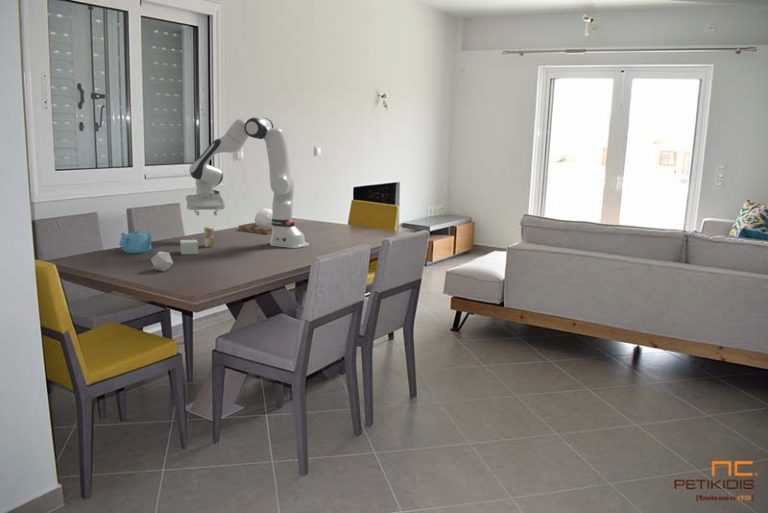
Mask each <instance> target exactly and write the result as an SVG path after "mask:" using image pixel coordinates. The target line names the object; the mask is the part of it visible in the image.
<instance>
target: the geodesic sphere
mask: <svg viewBox="0 0 768 513" xmlns="http://www.w3.org/2000/svg"><path fill="white" fill-rule="evenodd" d="M271 221H272V209H270V208H269V207H265V208H262V209H259V210H258V211H257V212H256V214H255V218H254V223H256V226H257V227H259V228H266V229H270V228H272V222H271Z"/></svg>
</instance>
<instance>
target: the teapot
mask: <svg viewBox="0 0 768 513" xmlns="http://www.w3.org/2000/svg"><path fill="white" fill-rule="evenodd" d="M120 235H121V236H120V240H119V246H120V247H121V249H122V251H123V252H125V254H132V253H135V254H136V253H137V254H145V252H146V253H148V252H150V251H151V249H152V244H151V243H152V242H151V241H152V237H153V232H148V233H147V235H146V233H144V232H140V231H139V230H137V229H136V230H135V229H134V230H133V232H130V233H128V234H127V233H126V232H121V233H120ZM135 254H134V255H135Z"/></svg>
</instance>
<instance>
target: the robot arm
mask: <svg viewBox="0 0 768 513" xmlns="http://www.w3.org/2000/svg"><path fill="white" fill-rule="evenodd" d="M249 137H250V138H253V139H257V140H264V142H265V147H266V152H267V159H268V165H269V166H268V168H269V169H268V170H269V181H270V182H269V183H270V184H269V185H270V190H271V191H272V192H273V197H272V198H273V199H272V205H271V206H272V209H271V210H272V221H271V222H272V233H271V234H270V240H269V244H270V246H271V247H282V248H289V249H290V248H291V249H299V248H304V247H305V248H306V247H308V246H309V245H310V243H309V242H306V241H305V240H306V239H305V235H304V233H303V232H302V231H301V230H300V229H299V228H298V227H296V223H297V220H294V219H293V205H294V204H293V203H294V194H295V193H294V190H295V181H294V178H293V176H292V175H291V173H290V172H291V171H290V157H289V152H288V150H289V149H288V146H287V141H286V140H287V139H286V137H285V134H284V131H283V130H282V129H281V128H278V127H274V124H273V122H272V120H270V119H269V118H267V117H260V116H255V117H251V118H249V119H245V118H237V119H236V120H235V121H234V122H233V123H231V125H230V127H229V128H228V129H227V131H226V133H224V135H222V136H221V137H220V138H216V139H214V141H212V142H211V143H210V144H209V146H208V147H207V148H206V149H205V150H204V151H203V153H201V155H200V156H199V157H198V158H197V159H196V160H195V161H194V162H193V163H192V164H191V165H190V166H189V174H190V176H191V178H193V179H194V180H195V187H196V194H188V195H186V196H185V201H186V210H188V211H194V213H195V215H196V216H200V210H201V211H204V210H208V211H209V210H210V211H211V210H212V211H213V210H214V211H213V216H217V215H218V212H219V210H220V211H221V210H224V209H225V200H224V197H223V196H222V191H220V190H217V189H214V188H216V186H218V185H220V184H221V183H222V182H223V178H224V175H223V170H222V169H220V168H219V167H216V166H213V165H210V164H208V163H209V162H210V161H211V160H212V158H213V157H215V155H216V154H219V153H220V154H221V153H227V154H228V153H229V154H230V153H231V154H233V153H236V152H238V151H240V150H241V149H242V148H243V146H244V144H245V143H246V142H247V139H248V138H249Z"/></svg>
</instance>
